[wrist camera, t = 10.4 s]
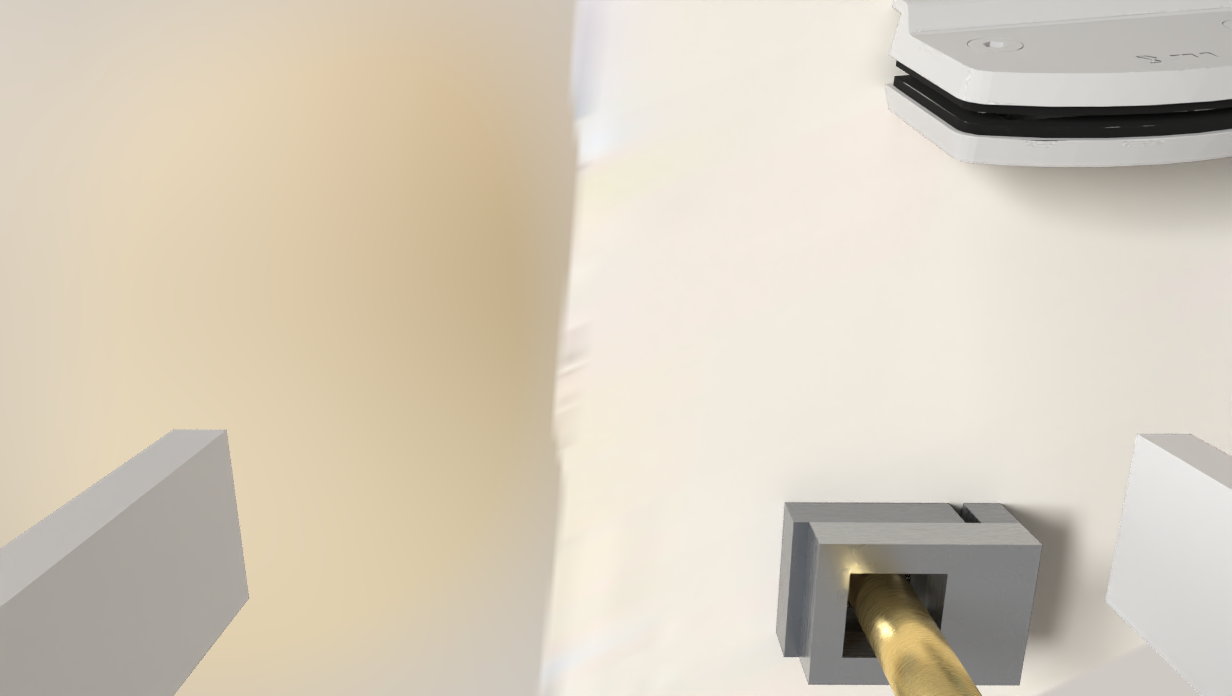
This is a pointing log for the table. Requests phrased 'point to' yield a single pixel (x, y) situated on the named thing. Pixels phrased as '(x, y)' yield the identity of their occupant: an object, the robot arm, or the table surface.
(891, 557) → the grey block with pocket
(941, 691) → the pin
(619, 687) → the table surface
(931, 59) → the white piece
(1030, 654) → the table surface
